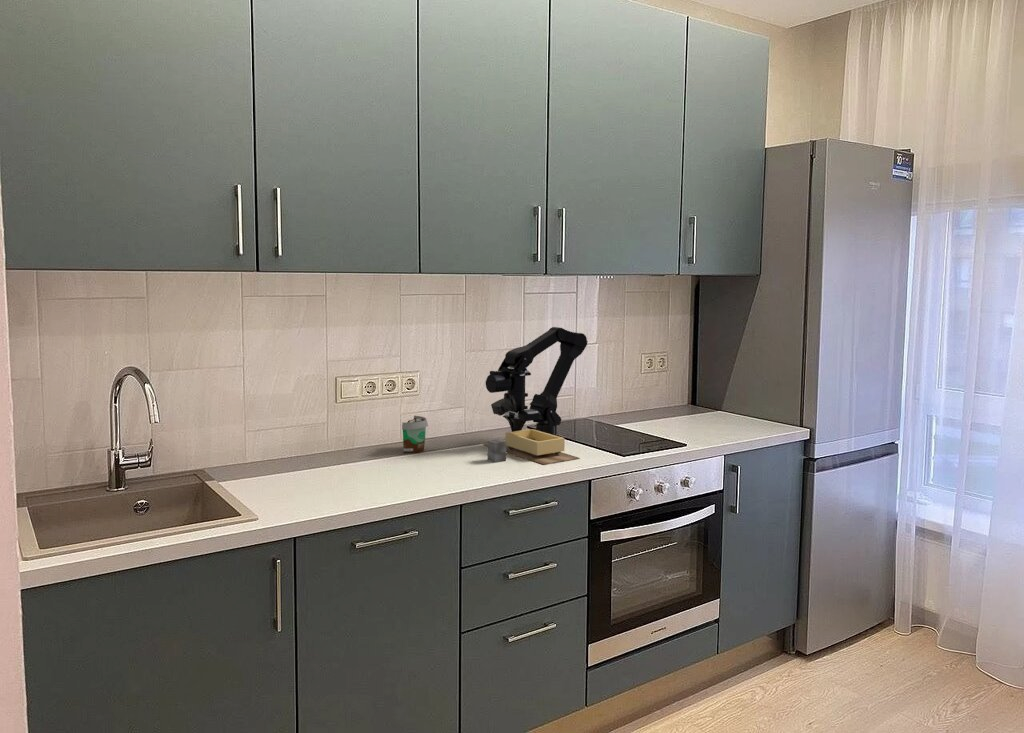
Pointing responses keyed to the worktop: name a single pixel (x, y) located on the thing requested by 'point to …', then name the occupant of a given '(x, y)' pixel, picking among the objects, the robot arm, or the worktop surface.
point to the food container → (414, 435)
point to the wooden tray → (534, 442)
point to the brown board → (541, 456)
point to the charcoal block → (496, 451)
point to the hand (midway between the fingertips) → (515, 437)
